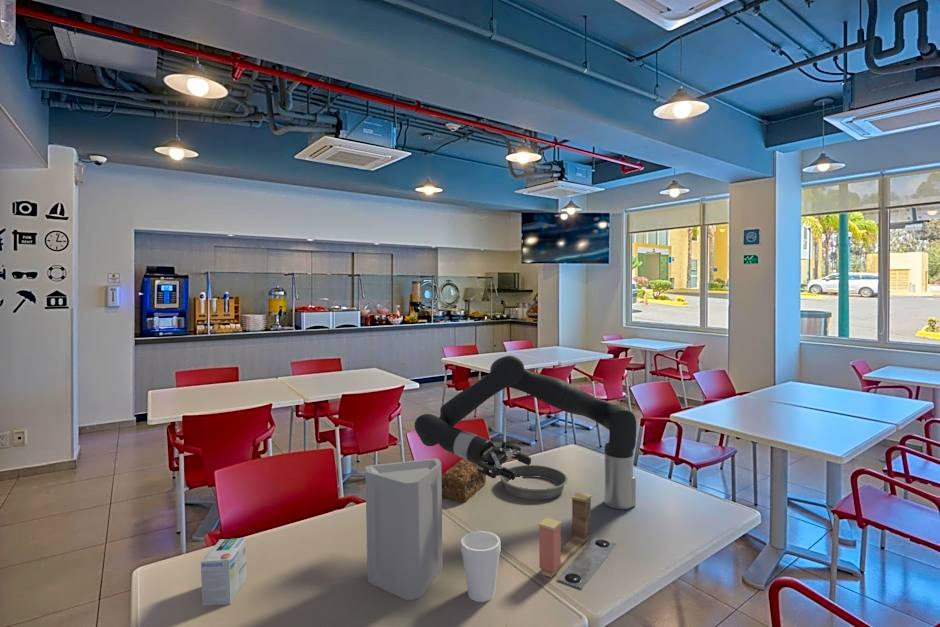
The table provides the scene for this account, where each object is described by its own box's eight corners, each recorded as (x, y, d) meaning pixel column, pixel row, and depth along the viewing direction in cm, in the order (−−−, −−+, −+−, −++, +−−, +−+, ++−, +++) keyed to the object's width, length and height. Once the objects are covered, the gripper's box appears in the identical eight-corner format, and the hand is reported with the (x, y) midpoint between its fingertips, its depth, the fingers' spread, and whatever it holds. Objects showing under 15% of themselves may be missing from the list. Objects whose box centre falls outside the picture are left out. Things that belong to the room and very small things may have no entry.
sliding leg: (546, 560, 129) (546, 517, 128) (561, 565, 126) (561, 521, 126) (538, 568, 125) (538, 523, 125) (553, 573, 123) (553, 528, 122)
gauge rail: (577, 533, 146) (577, 491, 145) (591, 537, 143) (591, 494, 143) (538, 573, 125) (538, 524, 125) (553, 579, 123) (553, 529, 122)
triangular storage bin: (372, 607, 113) (370, 487, 111) (367, 572, 127) (365, 465, 126) (452, 592, 118) (451, 478, 117) (439, 560, 132) (437, 457, 131)
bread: (463, 480, 188) (462, 454, 188) (488, 484, 184) (488, 458, 183) (438, 498, 172) (438, 470, 171) (465, 504, 167) (465, 475, 167)
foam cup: (501, 583, 121) (501, 531, 121) (500, 607, 112) (499, 551, 112) (463, 581, 122) (463, 530, 122) (459, 605, 113) (458, 550, 113)
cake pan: (573, 502, 168) (573, 489, 168) (502, 502, 168) (501, 489, 168) (561, 475, 193) (561, 464, 192) (498, 475, 193) (498, 464, 193)
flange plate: (594, 538, 143) (594, 536, 143) (616, 545, 139) (616, 543, 139) (557, 580, 122) (557, 578, 122) (581, 589, 119) (581, 586, 119)
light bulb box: (220, 580, 124) (219, 538, 124) (248, 578, 125) (246, 537, 124) (201, 607, 113) (199, 561, 113) (231, 605, 114) (229, 559, 114)
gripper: (458, 447, 133) (510, 468, 125) (487, 426, 145) (536, 445, 136) (458, 471, 135) (508, 493, 127) (486, 449, 147) (534, 468, 138)
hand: (522, 468), depth 131 cm, fingers open, 8 cm apart
